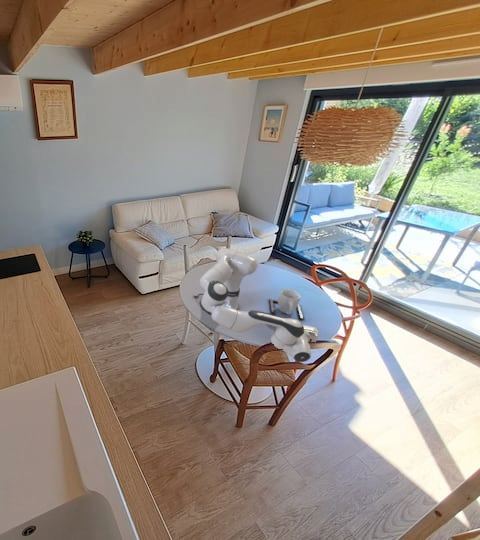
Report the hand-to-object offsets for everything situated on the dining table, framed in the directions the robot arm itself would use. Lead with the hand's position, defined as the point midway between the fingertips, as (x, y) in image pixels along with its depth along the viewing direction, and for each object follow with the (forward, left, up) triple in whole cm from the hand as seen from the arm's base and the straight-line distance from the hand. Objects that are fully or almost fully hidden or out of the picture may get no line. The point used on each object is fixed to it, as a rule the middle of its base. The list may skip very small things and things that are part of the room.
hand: (293, 320), depth 162 cm
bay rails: (0, +22, -9) cm, 23 cm away
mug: (0, +20, -9) cm, 22 cm away
